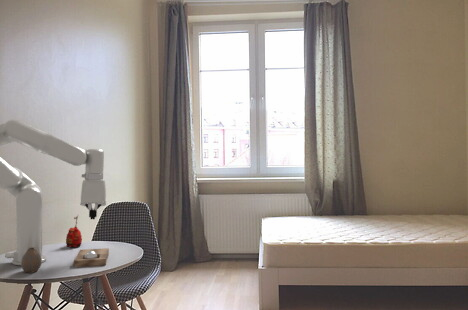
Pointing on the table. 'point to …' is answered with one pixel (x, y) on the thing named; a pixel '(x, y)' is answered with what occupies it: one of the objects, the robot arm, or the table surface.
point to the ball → (90, 255)
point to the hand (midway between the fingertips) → (92, 218)
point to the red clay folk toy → (74, 237)
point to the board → (100, 260)
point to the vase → (31, 261)
